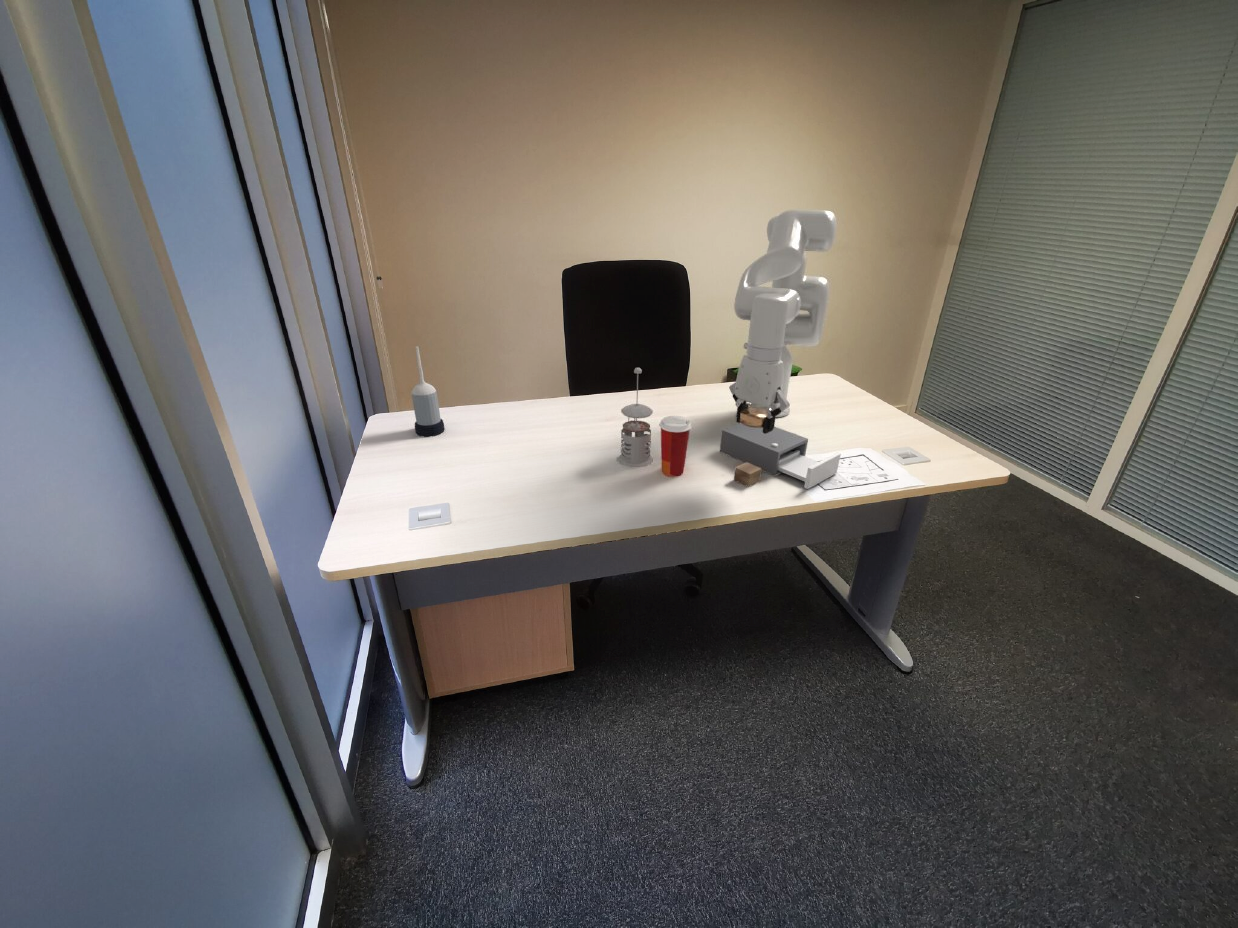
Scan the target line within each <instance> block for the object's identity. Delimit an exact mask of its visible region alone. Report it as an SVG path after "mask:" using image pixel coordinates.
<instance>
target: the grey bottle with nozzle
mask: <svg viewBox="0 0 1238 928" xmlns="http://www.w3.org/2000/svg"><path fill="white" fill-rule="evenodd" d="M415 353H416V359H417V360H416V361H417V367H418V372H419V383H418V384H416V385H415V386H414V387H413V388H412V390H411V399H412V404H413V410H414V415H415V416H414V417H415V423H414V431H415V434H417V436H419V437H421V436H424V437H423V438H430V436H432V437H436V436H440V435H441V433H442V434H443V433H444V432H445V431H446V430H445V429H446V428H445V422H444V420H443V419H442V418H441V413H440V407H439V406H440V405H439V398H438V394H437V393H438V392H437V389H436V388H435V387H434V386H433V385H432V384H430V383H428V382H426V381H425V380H424V372H423V367H422V361H421V360H422V359H421V355H420V350H419V346H415ZM444 430H445V431H444Z"/></svg>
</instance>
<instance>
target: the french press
mask: <svg viewBox="0 0 1238 928" xmlns="http://www.w3.org/2000/svg"><path fill="white" fill-rule="evenodd" d="M642 371H643V370H642V369H641V368H640V367H635V368H634V370H633V373H634V374H636V403H631V404H629V405H628V404H627V405H626V406H624V407H622V408H621V409H620V412H621V414H622V415H623V416H625V417H627V419H628V420H627V421H625V422H624V423H622V428H621V429H620V430H621V432H620V434H621V435H620V436H621V437H620V441H621V442H620V454H619V455H618V456H617V459H616V460H617V462H618V463H619V464H620V465H622V466H623V467H628V468H633V469H634V468H636V469H637V468H638V469H639V468H644V467H648V466H650V465H652V464H653V463H654V461H655V459H654V457H653V455H651V444H652V430H651V429H650V428H651V424H649V423H648V422H647V421H644V420H638V419H645V418H648V417H650V416H651V415H652V414H653V413H654V410H653V409H652V408H651V407H649V406H647V405H645V404H642V403H638V398H639V397H638V396H639V395H638V394H639V374H642ZM630 418H631V419H633V420H630ZM645 432H647V433H645ZM633 433H634V436H633ZM648 433H649V434H648Z"/></svg>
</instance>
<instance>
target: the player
mask: <svg viewBox="0 0 1238 928" xmlns="http://www.w3.org/2000/svg"><path fill="white" fill-rule="evenodd" d="M808 442H809V438H807V437H804V436H801V435H799V434H797V433H793V432H790V431H789V430H788V431H787V430H785V429H783V428H780V427H778V426H774V429H773V430H772V431H771V432H768V433H766V434H764V433H763V428H753V427H748V426H745V425H743V424H742V423H736V424H734V425H731V426H729V427H726V428H724V429H722V430H721V437H720V446H719V452H720V453H722V454H725V455H726V456H729V457H731V458H734V459H736V460H738V461H739V462H742V463H743V464H744V463H746V462H748V463H750V464H752V465H755V466H757V467H759V468H761V469H762V470H761V471H763V472H765V473H768V474H770V475H773V476H774V477H776V476H778V475H780V474H782V473H783V472H781V471H779V470H778V465H779V459H780V455H781V454H783V453H785V452H787V451H789V450H790V451H793V452H794V451H796V450H799V451H800V455H803V456H805V457H806V454H807V449H808V444H809V443H808Z"/></svg>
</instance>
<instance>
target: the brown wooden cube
mask: <svg viewBox="0 0 1238 928" xmlns="http://www.w3.org/2000/svg"><path fill="white" fill-rule="evenodd" d="M762 471H763V470H762V469H761V468H759V467H757V466H755V465H752V464H750V463H748V462H746V463H744V462H743V463H742V464H739V465H738V466H735V467H734V476H733V480H734V481H735V482H738V483H740V484H741V485H744V486H746V487H748V488H749V487H751V486H754V485H756V484H757V483H759V482H761V475H762Z"/></svg>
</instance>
